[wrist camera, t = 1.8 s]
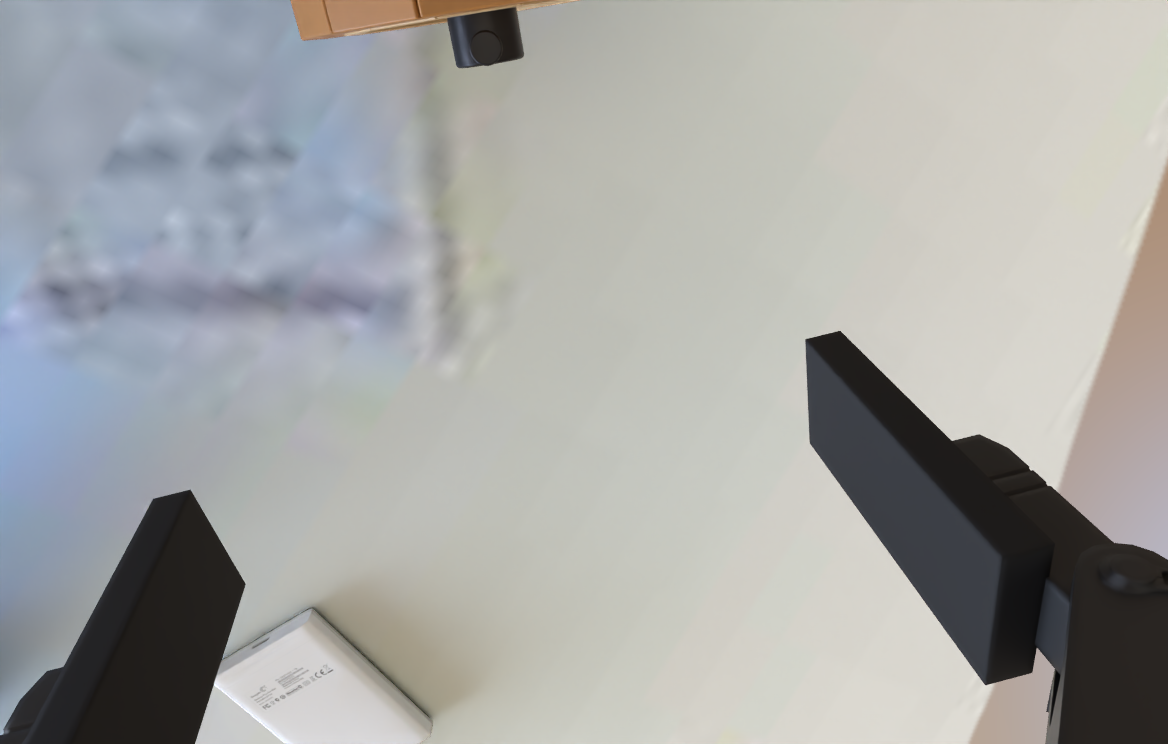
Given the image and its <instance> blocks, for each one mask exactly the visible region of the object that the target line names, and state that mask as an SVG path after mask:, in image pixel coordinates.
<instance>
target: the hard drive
mask: <svg viewBox="0 0 1168 744" xmlns="http://www.w3.org/2000/svg"><path fill="white" fill-rule="evenodd" d="M214 685H215V686H216V687H217V688H218V689H220V690H221V691H223V692H224V693H225V694H226V695H227V696H228V697H230V698H231V699H232V700H233V701H234V702H236V703H237V704H238V705H239V706H240V707H242V708H243V709H244V710H245V711H246V712H247V713H249V714H250V715H251V716H252V717H254V718H255V719H256V720H257V721H258V722H260V723H261V724H262V725H263V726H264V727H266V728H267V729H268V730H269V731H271V732H272V733H273V734H274V735H275V736H277V737H278V738H279V739H280V740H281V741H283V742H284V743H285V744H419V743H421V742H423V741H424V740H426V739H427V738H429V737H430V736H431V731H432V726H433V723H432V720H431V719H430V718H429V717H428V716H427V715H426V714H425V713H423V712H422V711H421V710H420V709H419V708H418V707H417V706H416V705H415V704H414V703H413V702H412V701H411V700H410V699H409V698H408V697H406V696H405V695H404V694H403V693H402V692H401V691H400V690H399V689H398V688H397V687H396V686H395V685H394V684H393V683H392V682H391V681H390V680H388V679H387V678H386V677H385V676H384V675H383V674H382V673H381V672H380V671H379V670H378V669H377V668H376V667H374V666H373V665H372V664H371V663H370V662H369V661H368V660H367V659H366V658H365V657H364V656H363V655H362V654H361V653H360V652H359V651H358V650H357V649H355V648H354V647H353V646H352V645H351V644H350V643H349V642H348V641H347V640H346V639H345V638H344V637H343V636H342V635H341V634H339V633H338V632H337V631H336V630H335V629H334V628H333V627H332V626H331V625H330V624H329V623H328V622H327V621H325V620H324V619H323V618H322V617H321V616H320V615H319V614H318V613H317V612H316V611H315V610H314V609H309V610H306V611H305V612H303V613H301V614H299V615H298V616H296V617H294V618H293V619H291V620H289V621H288V622H286V623H284V624H282V625H281V626H279V627H277V628H276V629H274V630H272V631H271V632H269V633H267V634H266V635H264V636H262V637H261V638H259V639H257V640H256V641H254V642H252V643H250V644H249V645H247V646H245V647H244V648H242V649H240V650H239V651H237V652H235V653H234V654H232V655H230V656H229V657H227V658H225V659H224V660H222V661H221V663H220V666H219V669H218V673H217V676H216V679H215V682H214Z"/></svg>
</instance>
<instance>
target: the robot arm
mask: <svg viewBox="0 0 1168 744" xmlns="http://www.w3.org/2000/svg"><path fill="white" fill-rule="evenodd" d="M805 341H806V364H807V388H808V411H809V434H810V444H811V445H812V447H813V448H814V449H815V451H816V452H817V454H818V455H819V456H820V458H821V459H822V460H823V462H824V463H825V465H826V466H827V467H828V469H829V470H830V471H831V473H832V474H833V476H834V477H835V478H836V480H837V481H838V483H839V484H840V485H841V487H842V488H843V489H844V491H845V492H846V494H847V495H848V496H849V498H850V499H851V500H852V502H853V503H854V505H855V506H856V507H857V509H858V510H859V512H860V513H861V514H862V516H863V517H864V518H865V520H866V521H867V523H868V524H869V525H870V527H871V528H872V529H873V531H874V532H875V534H876V535H877V536H878V538H879V539H880V541H881V542H882V543H883V545H884V546H885V547H886V549H887V550H888V552H889V553H890V554H891V556H892V557H893V558H894V560H895V561H896V563H897V564H898V565H899V567H900V568H901V570H902V571H903V572H904V574H905V575H906V576H907V578H908V579H909V581H910V582H911V583H912V585H913V586H914V587H915V589H916V590H917V592H918V593H919V594H920V596H921V597H922V599H923V600H924V601H925V603H926V604H927V605H928V607H929V608H930V610H931V611H932V612H933V614H934V615H935V616H936V618H937V619H938V621H939V622H940V623H941V625H942V626H943V628H944V629H945V630H946V632H947V633H948V634H949V636H950V637H951V639H952V640H953V641H954V643H955V644H956V645H957V647H958V648H959V650H960V651H961V652H962V654H963V655H964V657H965V658H966V659H967V661H968V662H969V663H970V665H971V666H972V668H973V669H974V670H975V672H976V673H977V674H978V676H979V677H980V679H981V680H982V681H983V683H984V684H985V685H988V684H992V683H996V682H999V681H1003V680H1006V679H1011V678H1014V677H1018V676H1022V675H1026V674H1029V673H1032V671H1033V665H1034V660H1035V654H1036V648H1038V649H1039V650H1040V651H1041V652H1042V654H1043V655H1044V656H1045V657H1046V659H1047V660H1048V661H1049V662H1050V663H1051V664H1052V666H1053V667H1054V668H1055V671H1054V676H1053V681H1052V686H1051V691H1050V696H1049V701H1048V706H1047V711H1046V712H1049V716H1048V726H1047V734H1046V743H1045V744H1168V560H1167V559H1165V558H1164V557H1162V556H1160V555H1159V554H1157V553H1155V552H1153V551H1150V550H1147V549H1144V548H1141V547H1137V546H1134V545H1128V544H1118V543H1114V542H1112V541H1111V540H1110V539H1109V538H1108V537H1107V536H1105V535H1104V534H1103V533H1102V532H1101V531H1100V530H1099V529H1098V528H1097V527H1095V526H1094V525H1093V524H1092V523H1091V522H1090V521H1089V520H1088V519H1087V518H1085V517H1084V516H1083V515H1082V514H1081V513H1080V512H1079V511H1078V510H1077V509H1076V508H1074V507H1073V506H1072V505H1071V504H1070V503H1069V502H1068V501H1066V499H1064V498H1063V497H1062V496H1061V495H1060V494H1059V493H1058V492H1057V491H1056V490H1054V489H1053V488H1052V487H1051V486H1047V484H1046V481H1044V480H1043V479H1042V478H1041V477H1040V476H1039V475H1038V474H1037V473H1036V472H1034V471H1033V470H1032V471H1030V469H1029V466H1028V465H1027V464H1026V463H1024V462H1023V461H1022V460H1021V459H1020V458H1019V457H1018V456H1017V455H1016V454H1014V453H1013V452H1012V451H1011V450H1010V449H1009V448H1007V447H1005V446H1003V445H1001V444H999V443H997V442H994V441H992V440H990V439H988V438H986V437H984V436H982V435H975V436H971V437H967V438H963V439H959V440H955V441H951V440H950V439H949V438H948V437H947V436H946V435H945V434H944V433H943V432H942V431H941V430H940V429H939V428H938V427H937V426H936V425H935V424H934V423H933V422H932V421H931V420H930V419H929V418H928V417H927V416H926V415H925V414H924V413H923V412H922V411H921V410H920V409H919V408H918V407H917V406H916V405H915V404H914V403H913V402H912V401H911V400H910V399H909V398H908V397H907V396H906V395H904V394H903V393H902V392H901V391H900V390H899V389H898V388H897V387H896V386H895V385H894V384H893V383H892V382H891V381H890V380H889V379H888V378H887V377H886V376H885V375H884V374H883V373H882V372H881V371H880V370H879V369H878V368H877V367H876V366H875V365H874V364H873V363H872V362H871V361H870V360H869V359H868V358H867V357H866V356H865V355H864V354H863V353H862V352H861V351H860V350H859V349H858V348H857V347H856V346H855V345H854V344H853V343H852V342H851V341H850V340H849V339H848V338H847V337H846V336H845V335H844V334H843V333H842V332H841V331H838V332H834V333H829V334H825V335H821V336H817V337H813V338H809V339H805ZM245 585H246V584H245V582H244V581H243V579H242V577H241V575H240V574H239V572H238V570H237V569H236V567H235V565H234V563H233V562H232V560H231V558H230V557H229V555H228V553H227V552H226V550H225V548H224V546H223V545H222V543H221V541H220V540H219V538H218V536H217V534H216V533H215V531H214V529H213V528H212V526H211V524H210V522H209V521H208V519H207V517H206V516H205V514H204V512H203V510H202V509H201V507H200V505H199V504H198V502H197V500H196V498H195V497H194V495H193V493H192V492H191V490H188V491H183V492H179V493H175V494H171V495H167V496H163V497H159V498H155V499H153V500H152V502H151V504H150V506H149V508H148V510H147V512H146V513H145V515H144V517H143V519H142V521H141V523H140V525H139V527H138V528H137V530H136V532H135V534H134V536H133V538H132V540H131V542H130V543H129V545H128V547H127V549H126V551H125V553H124V555H123V557H122V558H121V560H120V562H119V564H118V566H117V568H116V570H115V572H114V573H113V575H112V577H111V579H110V581H109V583H108V585H107V587H106V588H105V590H104V592H103V594H102V596H101V598H100V600H99V602H98V603H97V605H96V607H95V609H94V611H93V613H92V615H91V616H90V618H89V620H88V622H87V624H86V626H85V628H84V630H83V631H82V633H81V635H80V637H79V639H78V641H77V643H76V645H75V646H74V648H73V650H72V652H71V654H70V656H69V658H68V660H67V661H66V663H65V665H64V667H62V668H58V669H54V670H50V671H47V672H46V673H45V674H44V675H43V676H42V677H41V678H40V679H39V680H38V681H37V682H36V683H35V685H34V686H33V687H32V688H31V689H30V690H29V691H28V692H27V693H26V694H25V695H24V696H23V698H22V699H21V700H20V701H19V703H18V705H17V706H16V708H15V710H14V712H13V714H12V715H11V717H10V719H9V721H8V722H7V724H6V726H5V728H4V729H3V730H4V735H0V744H195V742H196V739H197V735H198V732H199V729H200V726H201V723H202V720H203V717H204V713H205V710H206V707H207V704H208V701H209V698H210V695H211V691H212V688H213V685H214V682H215V679H216V676H217V673H218V669H219V666H220V663H221V660H222V657H223V654H224V651H225V647H226V644H227V641H228V638H229V635H230V632H231V629H232V625H233V622H234V619H235V616H236V613H237V610H238V607H239V603H240V600H241V597H242V594H243V591H244V588H245Z"/></svg>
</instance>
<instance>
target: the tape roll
mask: <svg viewBox="0 0 1168 744" xmlns="http://www.w3.org/2000/svg"><path fill="white" fill-rule="evenodd" d="M573 1H579V0H291V4H292V8H293V11H294V15H295V18H296V22H297V25H298V29H299V33H300V36H301V39H302V40H304V41H305V40H318V39H328V38H335V37H343V36H354V35H364V34H371V33H378V32H385V31H392V30H399V29H406V28H413V27H419V26H426V25H432V24H439V23H445V22H447V18H450V17H456V16H462V15H468V14H475V13H481V12H487V11H493V10H499V9H506V8H512V7H516V9H517V11H520V10H526V9H532V8H538V7H544V6H550V5H556V4H562V3H568V2H573Z"/></svg>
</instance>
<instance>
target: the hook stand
mask: <svg viewBox="0 0 1168 744" xmlns="http://www.w3.org/2000/svg"><path fill="white" fill-rule="evenodd" d="M447 22H448V26H449V31H450V36H451V41H452V46H453V51H454V56H455V61H456V66H457V67H458V68H469V67H477V66H483V65H484V66H489V65H493V64H496V63H502V62H507V61H512V60H517V59H520V58H522V57H523V56H524V52H523V46H522V40H521V34H520V28H519V22H518V15H517V9H516V7H512V8H506V9H499V10H493V11H487V12H481V13H475V14H468V15H462V16H456V17H450V18H447Z"/></svg>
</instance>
